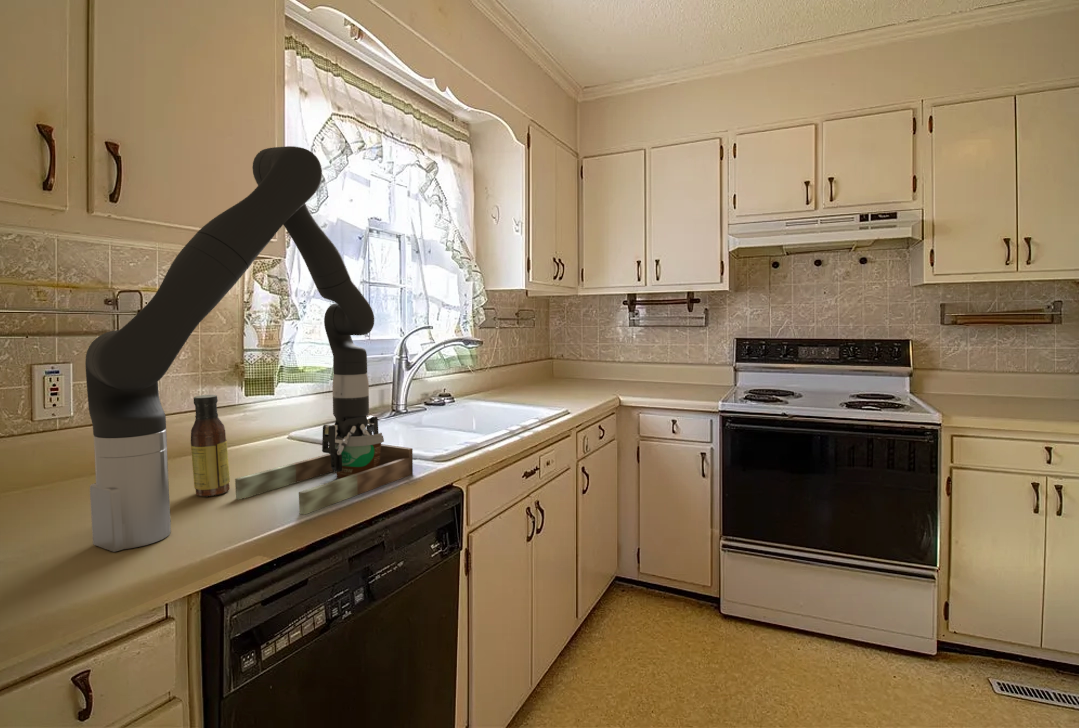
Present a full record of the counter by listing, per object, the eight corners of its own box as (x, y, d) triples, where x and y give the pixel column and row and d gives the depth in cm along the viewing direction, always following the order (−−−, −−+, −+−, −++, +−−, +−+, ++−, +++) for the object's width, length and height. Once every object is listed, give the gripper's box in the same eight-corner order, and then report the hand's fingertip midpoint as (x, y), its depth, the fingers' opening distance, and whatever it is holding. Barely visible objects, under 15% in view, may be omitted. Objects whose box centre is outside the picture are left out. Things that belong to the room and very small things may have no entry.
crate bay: (303, 514, 99) (303, 482, 99) (235, 498, 108) (234, 468, 107) (412, 474, 126) (412, 448, 126) (351, 463, 134) (350, 439, 134)
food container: (319, 480, 120) (318, 435, 120) (334, 473, 126) (333, 430, 126) (371, 484, 118) (370, 438, 117) (384, 476, 124) (384, 432, 123)
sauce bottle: (222, 486, 116) (219, 392, 114) (235, 492, 112) (232, 395, 110) (187, 493, 111) (183, 395, 109) (199, 500, 107) (195, 398, 105)
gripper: (338, 399, 113) (339, 477, 114) (386, 391, 125) (387, 461, 127) (312, 396, 116) (314, 472, 117) (362, 389, 129) (363, 457, 130)
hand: (352, 466), depth 122 cm, fingers open, 8 cm apart
